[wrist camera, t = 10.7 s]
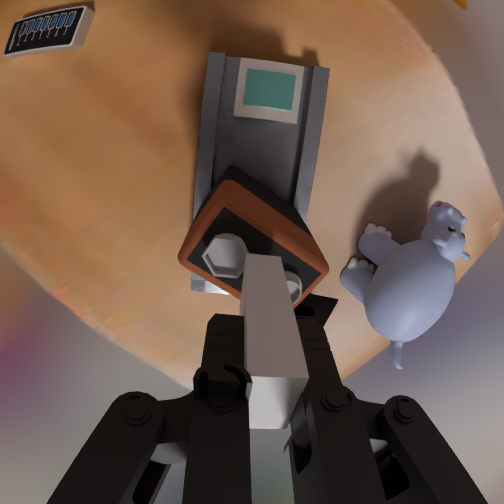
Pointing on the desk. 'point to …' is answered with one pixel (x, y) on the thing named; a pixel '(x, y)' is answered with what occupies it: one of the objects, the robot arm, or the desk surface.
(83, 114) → the desk surface
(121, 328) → the desk surface
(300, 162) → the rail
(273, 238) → the battery
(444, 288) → the hippopotamus toy
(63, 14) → the multiport hub
